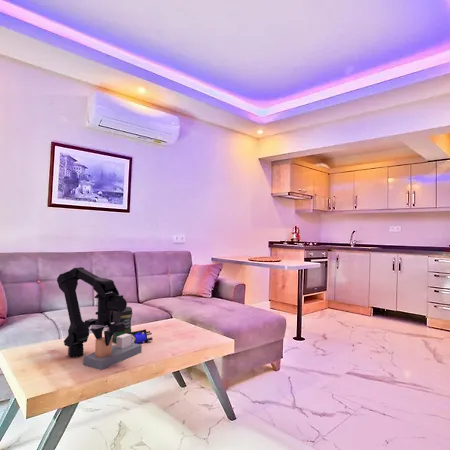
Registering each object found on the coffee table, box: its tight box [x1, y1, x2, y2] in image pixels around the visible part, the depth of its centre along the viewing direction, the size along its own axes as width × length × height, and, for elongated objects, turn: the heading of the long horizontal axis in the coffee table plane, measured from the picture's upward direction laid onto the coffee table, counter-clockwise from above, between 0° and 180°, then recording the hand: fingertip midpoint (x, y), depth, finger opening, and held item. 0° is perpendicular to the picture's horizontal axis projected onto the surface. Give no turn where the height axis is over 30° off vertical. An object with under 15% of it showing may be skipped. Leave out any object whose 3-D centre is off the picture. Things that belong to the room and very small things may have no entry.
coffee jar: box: [112, 306, 133, 345], centre depth 176 cm, size 10×8×19 cm
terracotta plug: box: [94, 336, 113, 358], centre depth 146 cm, size 4×6×8 cm, turn 152°
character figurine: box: [126, 328, 153, 345], centre depth 173 cm, size 8×7×15 cm
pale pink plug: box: [115, 334, 131, 350], centre depth 157 cm, size 4×6×8 cm, turn 152°
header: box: [82, 343, 143, 371], centre depth 151 cm, size 11×24×4 cm, turn 152°
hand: (103, 345), depth 146 cm, fingers closed on terracotta plug, 4 cm apart
